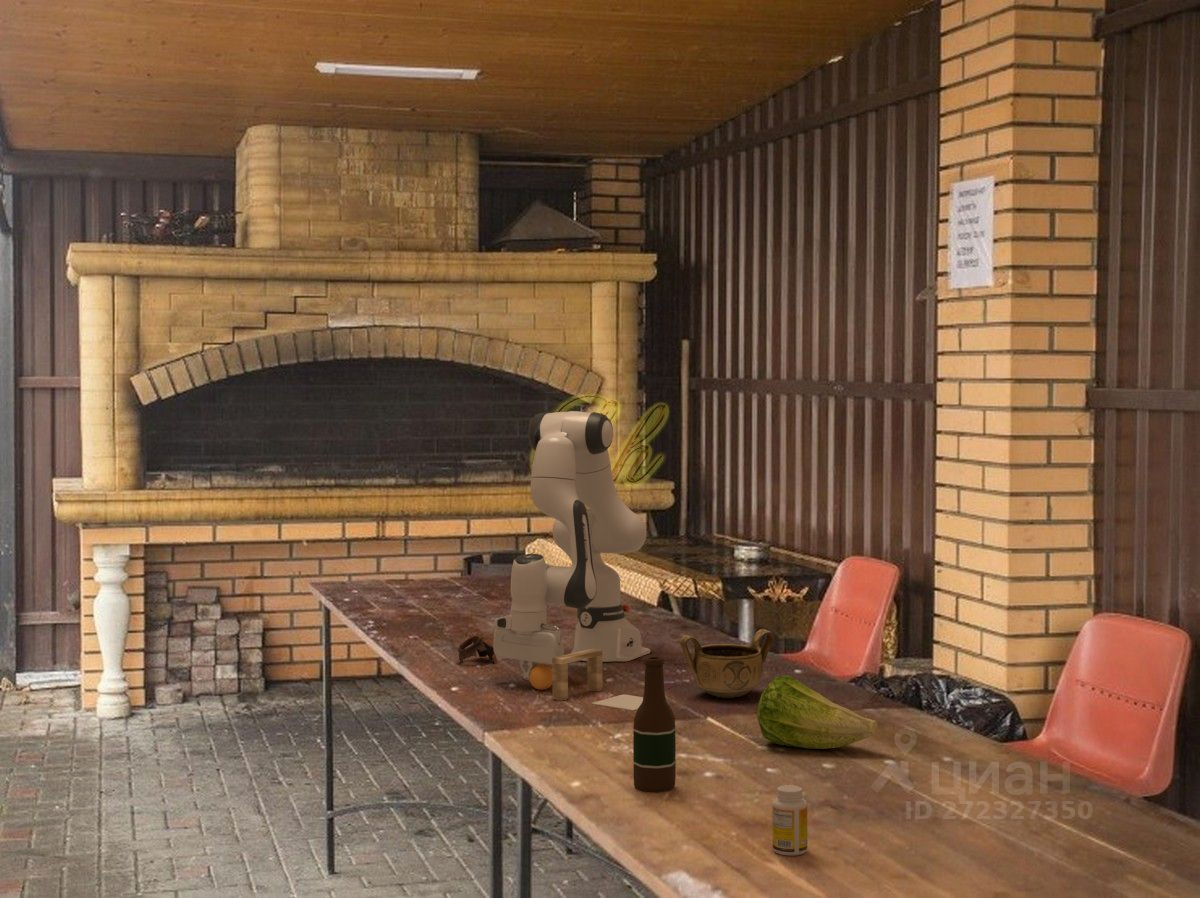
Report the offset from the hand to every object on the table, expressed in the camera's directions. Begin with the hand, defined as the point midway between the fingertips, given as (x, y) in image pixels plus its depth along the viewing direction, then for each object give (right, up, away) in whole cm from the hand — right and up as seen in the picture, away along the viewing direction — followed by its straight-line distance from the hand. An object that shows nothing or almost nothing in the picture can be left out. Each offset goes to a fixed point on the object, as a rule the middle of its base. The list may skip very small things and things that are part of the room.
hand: (528, 679), depth 381 cm
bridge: (+12, -2, -8) cm, 15 cm away
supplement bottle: (+48, -9, -129) cm, 138 cm away
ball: (+3, +1, -2) cm, 4 cm away
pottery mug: (-14, -1, +34) cm, 37 cm away
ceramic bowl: (+47, -3, -11) cm, 48 cm away
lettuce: (+62, -5, -62) cm, 87 cm away
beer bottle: (+27, -7, -91) cm, 95 cm away
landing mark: (+24, -3, -18) cm, 30 cm away
